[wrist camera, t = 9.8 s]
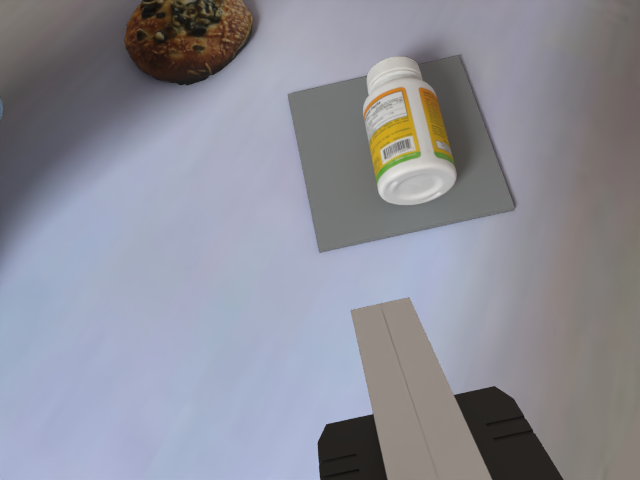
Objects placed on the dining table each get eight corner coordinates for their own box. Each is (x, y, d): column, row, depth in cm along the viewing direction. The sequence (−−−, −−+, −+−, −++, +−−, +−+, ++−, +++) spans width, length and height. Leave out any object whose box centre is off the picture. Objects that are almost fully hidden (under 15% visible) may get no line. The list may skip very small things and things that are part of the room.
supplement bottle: (443, 205, 43) (417, 98, 47) (470, 164, 38) (438, 48, 42) (370, 209, 42) (350, 98, 46) (389, 167, 37) (365, 48, 41)
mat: (513, 210, 42) (514, 207, 42) (319, 252, 42) (318, 250, 42) (458, 58, 48) (458, 55, 47) (288, 97, 48) (287, 94, 48)
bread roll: (143, 105, 50) (118, 58, 46) (126, 26, 56) (103, -22, 52) (269, 64, 50) (256, 14, 46) (239, -9, 56) (225, -59, 52)
